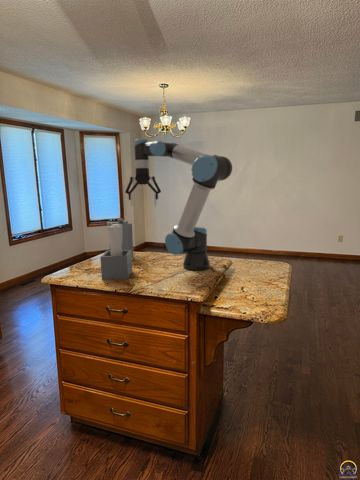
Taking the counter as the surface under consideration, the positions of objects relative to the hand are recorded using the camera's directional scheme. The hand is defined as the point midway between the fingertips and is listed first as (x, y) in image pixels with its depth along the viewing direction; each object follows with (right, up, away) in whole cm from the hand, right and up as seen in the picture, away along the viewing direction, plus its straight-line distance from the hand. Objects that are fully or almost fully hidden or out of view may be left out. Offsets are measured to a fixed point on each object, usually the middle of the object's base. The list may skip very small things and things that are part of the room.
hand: (143, 205), depth 185 cm
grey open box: (-12, -39, -16) cm, 43 cm away
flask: (-17, -31, +25) cm, 43 cm away
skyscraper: (-12, -38, -16) cm, 43 cm away
